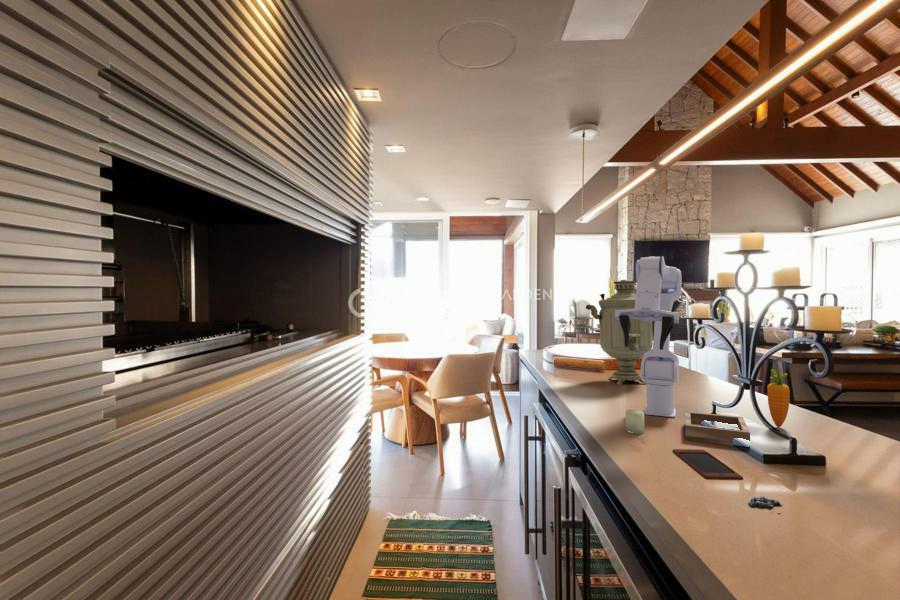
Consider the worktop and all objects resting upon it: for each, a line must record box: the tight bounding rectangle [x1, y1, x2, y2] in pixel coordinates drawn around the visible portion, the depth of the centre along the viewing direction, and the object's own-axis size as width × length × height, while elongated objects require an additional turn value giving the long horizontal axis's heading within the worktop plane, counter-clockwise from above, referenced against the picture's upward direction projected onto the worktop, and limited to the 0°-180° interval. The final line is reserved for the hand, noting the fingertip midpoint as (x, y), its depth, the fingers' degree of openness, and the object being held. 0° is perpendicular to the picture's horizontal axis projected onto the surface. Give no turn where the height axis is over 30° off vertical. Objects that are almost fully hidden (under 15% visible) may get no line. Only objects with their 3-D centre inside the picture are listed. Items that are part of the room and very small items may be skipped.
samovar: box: [585, 280, 654, 386], centre depth 172 cm, size 30×26×40 cm
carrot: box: [766, 368, 791, 428], centre depth 115 cm, size 5×5×15 cm
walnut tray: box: [684, 410, 751, 447], centre depth 109 cm, size 14×13×4 cm
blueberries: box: [747, 496, 783, 515], centre depth 73 cm, size 7×8×2 cm
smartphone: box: [672, 448, 744, 481], centre depth 91 cm, size 7×1×15 cm
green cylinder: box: [625, 409, 645, 435], centre depth 113 cm, size 4×4×5 cm
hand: (643, 346), depth 106 cm, fingers open, 7 cm apart
